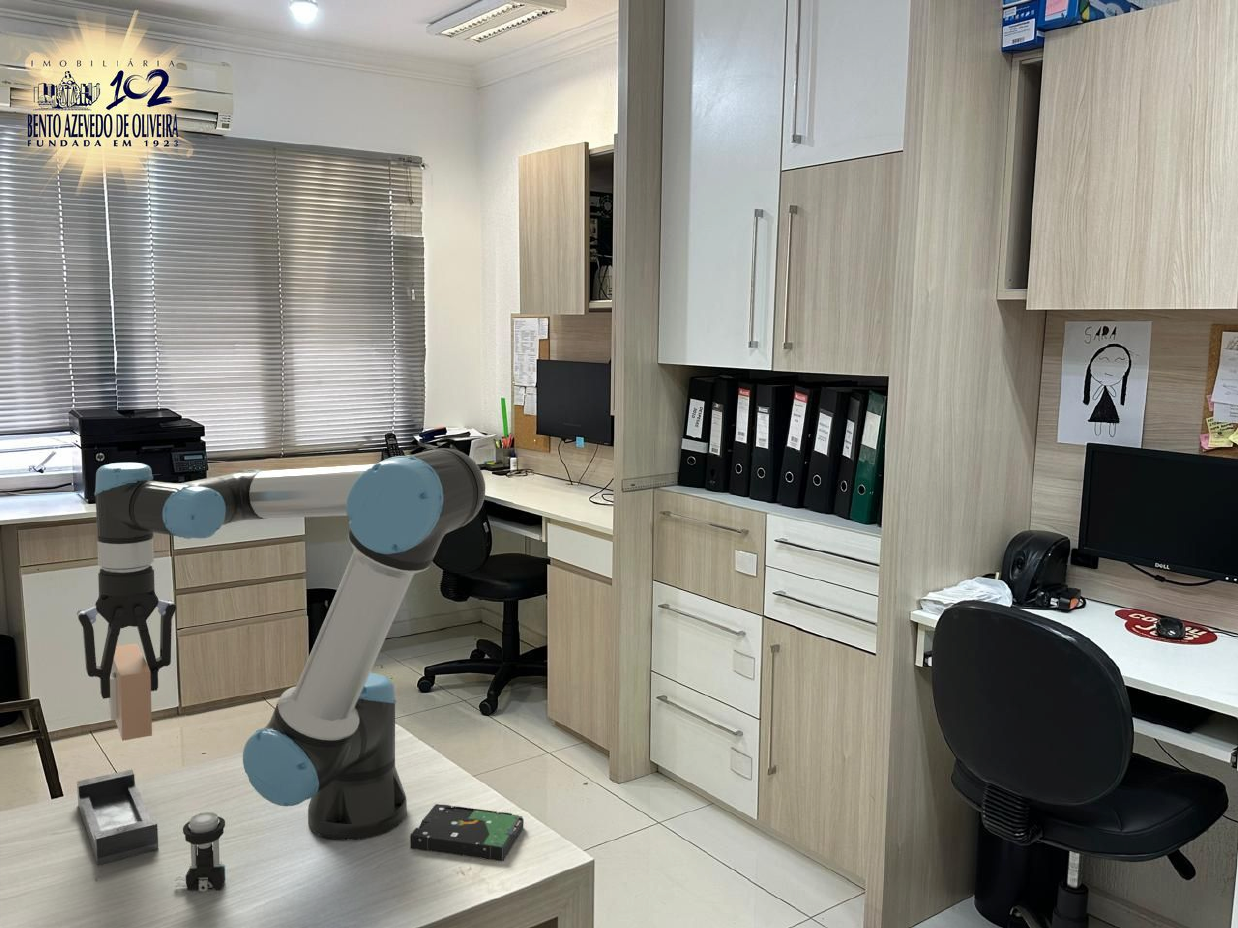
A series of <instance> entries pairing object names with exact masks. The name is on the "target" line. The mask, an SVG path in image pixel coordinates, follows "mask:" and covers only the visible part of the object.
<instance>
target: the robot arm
mask: <svg viewBox="0 0 1238 928" xmlns="http://www.w3.org/2000/svg"><path fill="white" fill-rule="evenodd" d="M94 497H95V509H96V510H95V511H96V516H95V517H96V538H97V540H96V541H97V565H98V566H99V567H100V569H99V570H98V571H97V573H98V576H97V577H98V599H97V600H96V602H95V605H94V606H92V607H89V608H88V609H79V610H78V611H77V613H76V614H77V618H78V621H79V623H80V624H81V626H82V633H83V634H82V635H83V645H84V647H83V648H84V657H85V658H84V660H85V669H86V670H85V671H86V673H87V676H88V677H90V678H93V677H95V678H98V679H99V682H100V683H99V685H100V695H101V697H102V699H104V700H105V699H108V707H109V708H108V710H109V711H108V714H109V717H110V720H111V721H115V720H117V700H116V678H115V675H114V673H111V670H112V665H113V660H114V655H115V650H116V646H118V645H117V644H118V639H119V636H120V632H121V629H125V628H127V627H128V628H129V627H134V628H135V627H136V628H137V631H138V635H139V639H140V643H141V646H142V650H143V653H144V659H145V661H146V663H147V665H148V667H149V669H150V673H151V692H156V691H158V688H159V671H160V669H162V668H164V667H168V666H170V665H171V663H172V662H171V661H172V624H173V621H172V620H173V617H174V615H175V612H176V610H177V606H176V604H175V603H174V601H173V600H172V599H169V600H168V599H167V600H162V599H159V597H158V596H157V593H156V591H155V568H154V566H153V563H154V562H155V560H154V559H155V553H154V551H155V549H154V534H160V535H161V534H162V535H168V536H174V537H177V538H183V539H188V540H189V539H207V538H210V537H212V536H213V535H215V533H216V532H217V531H218V530H220V529H221V528H222V526H223V525H228V524H231V523H236V522H240V521H249V520H250V521H252V520H255V521H256V520H267V519H291V518H312V517H315V518H317V517H321V518H323V517H342V516H347V517H348V518H349V522H348V527H349V531H348V534H347V540H348V542H349V544H350V546H351V548H352V549H353V552H352V554H351V555H350V556H351V557H350V558H349V559H350V560H349V561H348V563H347V566H346V568H345V571H344V572H343V575H342V578H341V581H340V582H339V585H338V587H337V589H336V592H335V594H334V597H333V598H332V602H331V603H330V606H329V608H328V611H327V613H326V616H325V618H324V620H323V623H322V624H321V627H320V629H319V632H318V634H317V637H316V639H315V642H314V644H313V647H312V649H311V651H310V653H309V656H308V658H307V661H306V663H305V665H304V668H303V670H302V672H301V675H300V678H299V680H298V682H297V684H296V686H292V687H290V688H288V689H286V690H285V691H283V693H282V694H281V695H280V697H279V698H278V701H277V703H276V705H275V707H274V710H273V712H272V716H271V717H270V720H269V722H268V723H267V725H266V726H265V727H263V728H259V729H257V730H256V731H255V732H254V733H253V734H252V735H251V736H250V737H249V738H248V739H247V740H246V742H245V743H244V744H245V745H244V748H243V751H242V766H243V768H244V773H245V774H246V775H247V777H248V781H249V783H250V784H251V786H252V787H253V789H255V791H256V792H257V793H258V794H259V795H260V796H261V797H262V798H263V799H265V800H267V801H268V802H269V803H271V804H274V805H277V806H280V807H293V806H298V805H300V804H302V803H303V802H305V801H306V800H310V801H309V803H308V809H307V821H308V826H309V828H310V830H311V831H312V832H313V833H314V834H317V835H319V836H321V837H323V838H327V839H330V840H336V841H337V840H338V841H357V840H365V839H370V838H373V837H374V838H375V837H377V836H378V837H379V836H381V835H383V834H386V833H389V832H390V831H392V830H394V829H396V828H397V827H398V826H399V825H400V824H402V822H403V821H404V820H405V819H406V817H407V813H408V812H407V809H408V807H407V806H408V805H407V804H408V801H407V795H406V792H405V790H404V787H403V784H402V782H401V779H400V776H399V774H398V770H397V768H396V703H397V700H396V698H395V686H394V683H393V682H392V680H391V679H389V678H388V677H387V676H385V675H383V674H378V673H375V672H374V673H373V672H372V670H373V667H374V665H375V662H376V661H377V658H378V655H379V653H380V651H381V650H382V647H383V644H384V642H385V641H386V638H387V636H388V633H389V631H390V629H391V627H392V624H393V622H394V619H395V618H396V615H397V613H398V611H399V609H400V606H401V604H402V602H403V600H404V597H405V595H406V593H407V591H408V589H409V586H410V584H411V582H412V580H413V578H414V575H415V574H418V573H422V572H425V571H426V570H428V569H430V566H431V565H432V563H433V560H434V558H435V556H436V554H437V552H438V549H439V547H440V545H441V543H442V540H443V538H444V537H445V535H446V534H448V533H450V532H453V531H455V530H458V529H460V528H461V527H464V526H466V525H467V524H468V523H471V521H472V520H474V518H475V517H476V516H477V515H478V514H479V512H480V510H481V508H482V506H483V504H484V501H485V497H486V482H485V477H484V474H483V472H482V470H481V468H480V467H479V465H478V464H477V463H476V461H475V460H473V459H472V458H471V456H469V455H467V454H466V453H465V452H463V451H460V450H458V449H453V448H443V447H442V448H441V447H440V448H434V449H430V450H426V451H422V452H418V453H415V454H408V455H397V456H393V457H389V458H386V459H383V460H382V461H380V462H377V463H371V464H370V463H369V464H368V463H367V464H357V465H356V464H355V465H354V464H353V465H342V466H341V465H340V466H324V467H307V468H293V469H292V468H290V469H274V470H262V469H246V470H245V469H244V470H240V471H236V472H233V473H229V474H228V473H227V474H225V475H219V476H213V477H207V478H203V479H201V478H200V479H197V480H192V481H185V482H181V483H180V482H179V483H178V482H175V483H174V482H165V481H164V482H163V481H157V480H154V476H153V472H152V468H151V466H150V465H148V464H145V463H142V462H141V463H140V462H115V463H109V464H104V465H101V466H100V467H99V468H98V469H96V473H95V491H94ZM156 608H157V610H158V611H157V612H158V613H159V615H160V629H159V630H160V631H159V632H160V634H159V636H160V638H159V639H160V640H159V656H158V657H156V655H155V649H154V647H153V643H152V638H151V635H150V632H149V631H150V630H149V627H148V623H147V620H148V619H149V618H150V616H151V615H152V613H153V612H154V611H155V609H156ZM98 614H99V615H100V616H101V617H102V618H103V619H104V620H105V621H106V622H107V623H108V625H107V632H106V633H107V634H106V638H105V643H104V647H103V652H102V658H101V663H100V666H99V665H97V657H96V656H97V655H96V645H95V632H94V631H95V630H94V627H93V624H95V623H96V621H97V615H98Z"/></svg>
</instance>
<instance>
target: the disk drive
mask: <svg viewBox="0 0 1238 928" xmlns="http://www.w3.org/2000/svg"><path fill="white" fill-rule="evenodd" d="M524 822H525V821H524V818H523V816H522V815H520V814H514V813H512V812H511V813H510V812H505V811H504V812H503V811H501V812H500V811H497V810H496V811H494V810H487V809H479V808H473V807H466V806H465V807H464V806H458V805H457V806H456V805H450V804H439V803H435V804H434V806H433V807H432V808H431V810H430V811H429V812H428V813H427V814H426V815H425V816H424V818H423V819H422V820H421V822H420V824H419V827H415V829H413V831H412V832H411V833H410V837H409V842H410V844H409V845H410V846H409V848H410V849H411V850H413V849H414V850H418V851H424V852H434V853H442V854H447V855H448V854H450V855H456V856H457V855H458V856H461V857H462V856H463V857H470V858H477V859H483V860H490V861H491V860H492V861H499V862H504V861H505V859H506V858H507V856H508V855H509V853H510V851H511V849H512V848H513V846H514V844H515V843H516V841H517V840H518V838H519V836H520V834H521V833H522V831H523V830H524Z"/></svg>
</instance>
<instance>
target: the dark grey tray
mask: <svg viewBox="0 0 1238 928" xmlns="http://www.w3.org/2000/svg"><path fill="white" fill-rule="evenodd" d="M135 779H136V778H135V773H134V770H133V769H128V770H124V771H119V772H114V773H110V774H105V775H102V776H101V775H100V776H97V777H92V778H87V779H84V780H78V781H76V787H77V790H76V791H77V805H78V809H79V812H80V815H81V817H82V820H83V821H82V822H83V825H84V828H85V829H86V833H87V837H88V839H89V843H90V845H91V849H92V851H93V854H94V858H95V862H96V865H97V866H101V865H104V864H108V863H112V862H116V861H120V860H123V859H126V858H131V857H134V856H138V855H142V854H145V853H149V852H152V851H154V852H155V851H156V850H159V833H158V832H159V831H158V823H157V820H156V818H154V817H153V818H152V817H151V815H150V814H149V811H148V809H147V806H146V804H145V802H144V800H143V798H142V796H141V793H140V792H139V791H140V790H139V788H138V787H137V785H136V782H135V781H136V780H135Z"/></svg>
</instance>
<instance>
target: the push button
mask: <svg viewBox="0 0 1238 928" xmlns="http://www.w3.org/2000/svg"><path fill="white" fill-rule="evenodd" d="M225 827H226V820H225V819H224V818H223V817H222V816H218V814H217V813H215V812H210V811H209V812H208V811H207V812H206V811H205V812H201V813H197V814H195V815H193V816H192V817H191V818H190V820H189V821H188V822H186V823H185V824H184V825H183V828H182V833H183V835H184V838H185V841H186V842H187V843H189V844H190V859H191V860H190V862H191V863H190V864H189V868H188V871H187V872H186V875H184V876H176V877H175V878H174V881H183V882H176V883H175V885H174V887H175V888H176V887H186V890H187V892H188V891H190V892H192V891H199V892H201V893H202V892H207V891H208V890H215V891H221V890H222V889H223V887H224V885H225V882H226V879H227V878H226V865H225V864H224V863H222V861H221V860H220V838H221V837H222V836H223V834H224V831H225V830H224V828H225Z"/></svg>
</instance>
